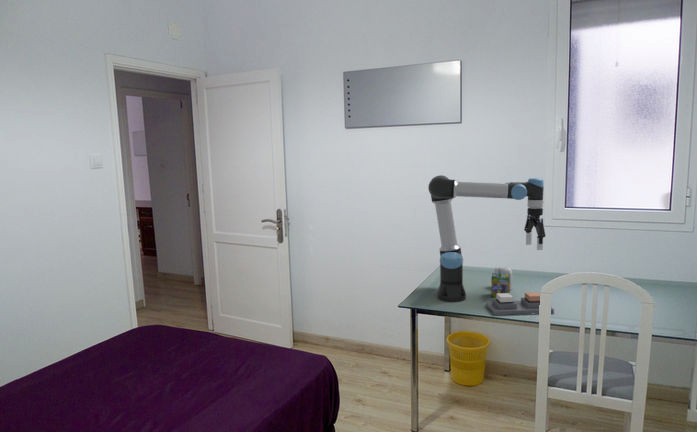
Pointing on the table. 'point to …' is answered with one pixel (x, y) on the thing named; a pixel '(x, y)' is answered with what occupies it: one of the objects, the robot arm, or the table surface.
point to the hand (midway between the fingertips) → (534, 247)
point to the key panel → (514, 307)
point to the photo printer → (505, 271)
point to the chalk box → (500, 283)
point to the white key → (504, 297)
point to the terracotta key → (532, 296)
